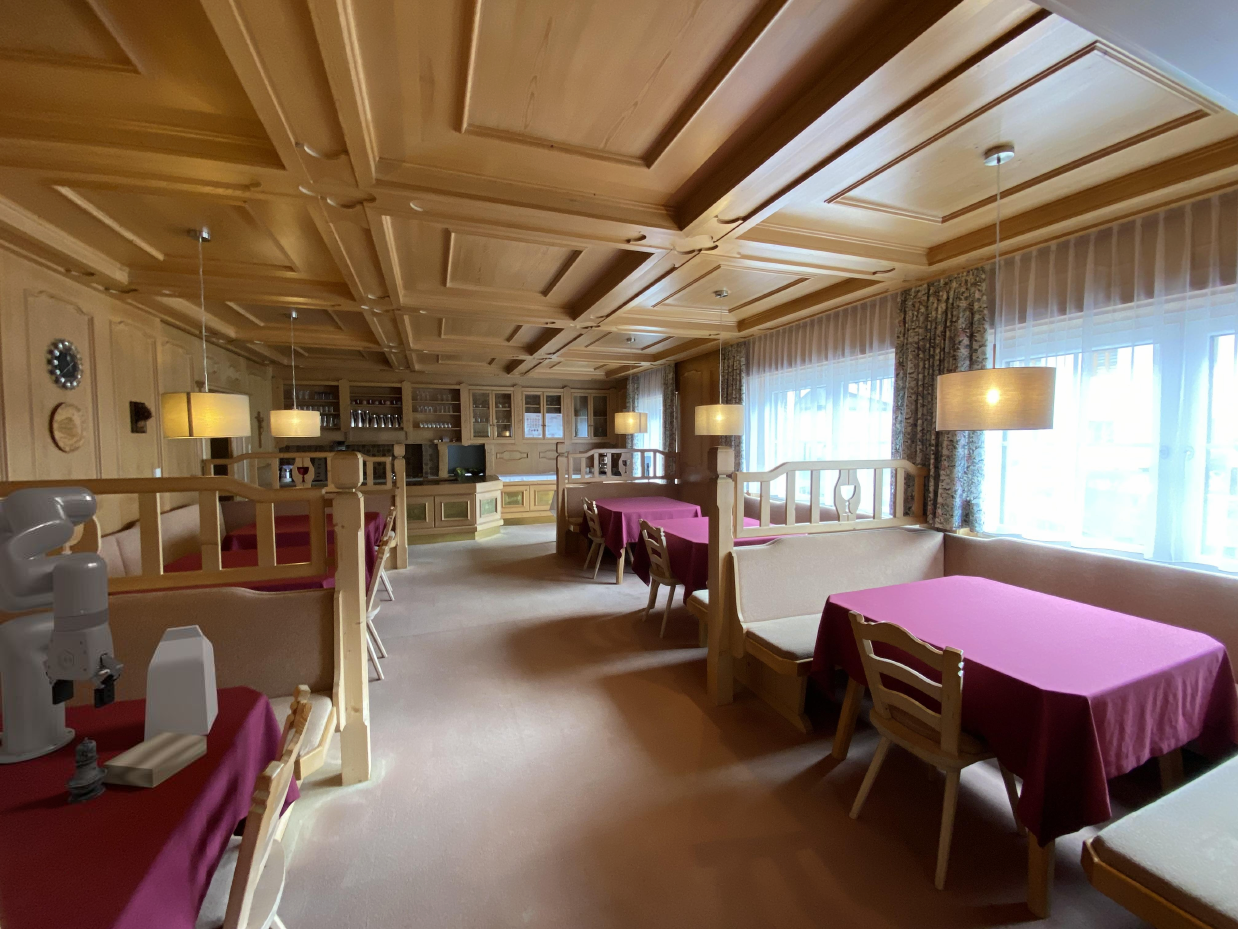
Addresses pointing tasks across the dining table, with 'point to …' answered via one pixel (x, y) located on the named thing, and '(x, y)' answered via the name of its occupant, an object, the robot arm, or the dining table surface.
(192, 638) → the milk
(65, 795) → the dining table surface
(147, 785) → the beech block
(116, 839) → the dining table surface
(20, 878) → the dining table surface
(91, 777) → the black chess piece
